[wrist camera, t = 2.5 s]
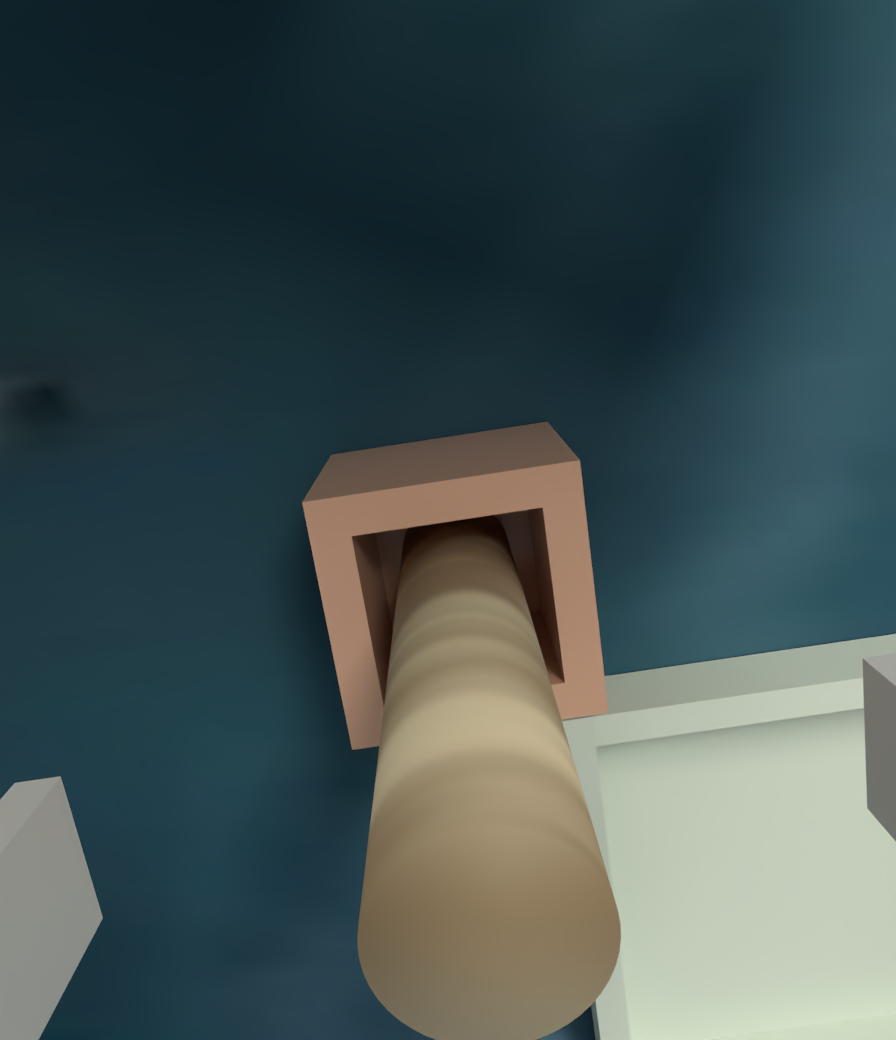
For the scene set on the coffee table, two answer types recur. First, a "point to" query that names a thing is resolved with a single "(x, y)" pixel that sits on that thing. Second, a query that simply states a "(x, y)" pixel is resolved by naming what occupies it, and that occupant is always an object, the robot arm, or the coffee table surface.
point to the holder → (443, 498)
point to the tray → (742, 850)
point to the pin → (478, 812)
